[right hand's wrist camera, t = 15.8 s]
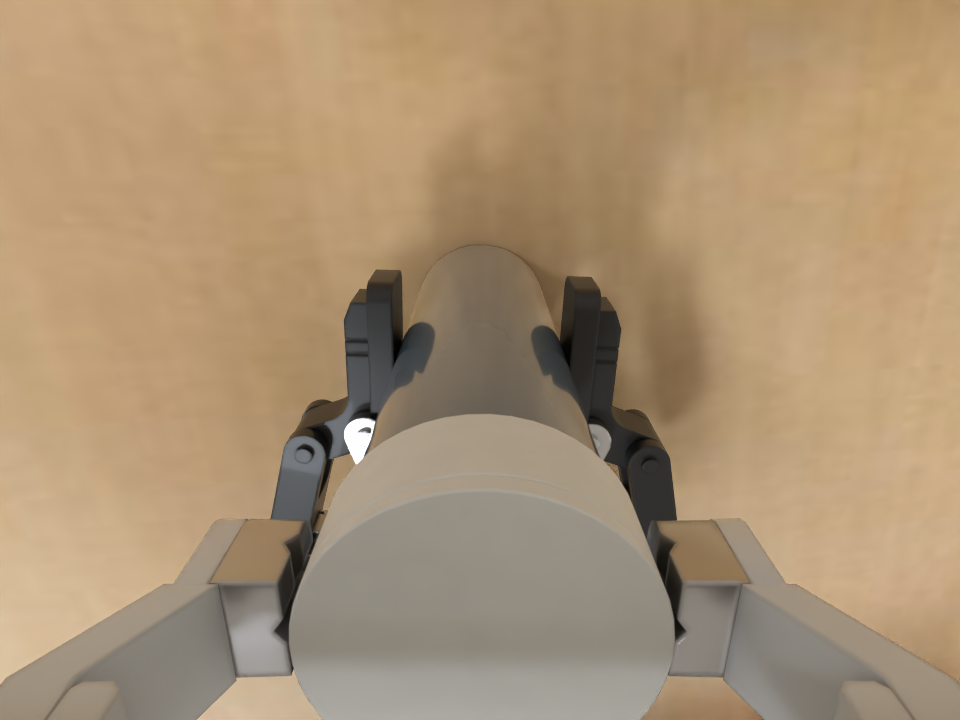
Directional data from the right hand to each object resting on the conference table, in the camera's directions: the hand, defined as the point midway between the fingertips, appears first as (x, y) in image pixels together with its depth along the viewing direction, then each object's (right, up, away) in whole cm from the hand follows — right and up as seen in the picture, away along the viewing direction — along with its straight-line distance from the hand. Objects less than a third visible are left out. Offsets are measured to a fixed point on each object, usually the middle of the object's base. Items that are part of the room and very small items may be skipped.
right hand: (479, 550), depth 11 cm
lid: (0, -1, -2) cm, 2 cm away
